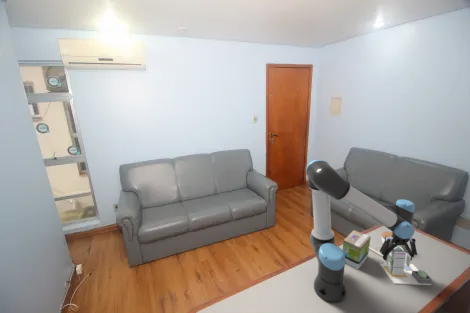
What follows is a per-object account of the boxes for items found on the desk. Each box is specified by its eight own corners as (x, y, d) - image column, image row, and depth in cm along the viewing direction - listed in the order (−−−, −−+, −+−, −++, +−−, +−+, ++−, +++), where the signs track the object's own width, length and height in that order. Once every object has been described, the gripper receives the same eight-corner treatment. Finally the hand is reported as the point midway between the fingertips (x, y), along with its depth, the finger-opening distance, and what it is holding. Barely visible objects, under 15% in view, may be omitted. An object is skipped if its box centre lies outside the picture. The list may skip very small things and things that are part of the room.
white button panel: (394, 284, 114) (395, 278, 113) (379, 264, 127) (380, 259, 126) (431, 285, 112) (432, 279, 111) (412, 265, 126) (413, 260, 125)
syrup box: (403, 275, 118) (407, 252, 114) (391, 275, 119) (394, 251, 115) (397, 268, 123) (401, 245, 120) (386, 267, 124) (389, 244, 120)
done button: (420, 280, 113) (421, 275, 113) (415, 274, 117) (416, 270, 116) (428, 280, 113) (428, 275, 112) (422, 274, 116) (423, 270, 116)
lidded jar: (405, 252, 136) (407, 238, 134) (387, 252, 136) (389, 239, 134) (393, 241, 146) (395, 228, 144) (376, 242, 147) (378, 229, 144)
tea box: (358, 270, 124) (361, 247, 120) (340, 261, 131) (342, 239, 128) (368, 257, 133) (371, 235, 130) (351, 249, 141) (353, 229, 137)
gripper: (382, 232, 112) (377, 269, 117) (431, 233, 110) (423, 270, 115) (374, 224, 119) (370, 259, 125) (420, 224, 117) (413, 260, 122)
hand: (396, 264), depth 120 cm, fingers open, 10 cm apart
